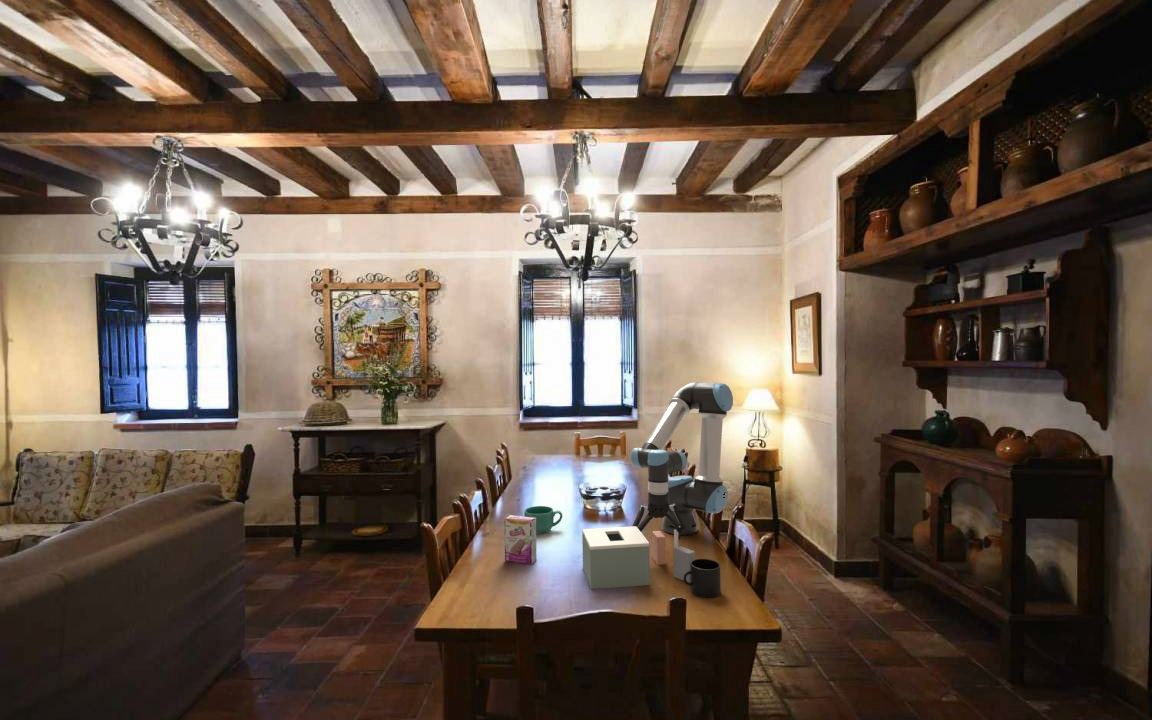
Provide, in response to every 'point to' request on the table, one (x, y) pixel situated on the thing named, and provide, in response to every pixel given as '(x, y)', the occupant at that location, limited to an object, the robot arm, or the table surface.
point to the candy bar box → (520, 539)
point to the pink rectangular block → (658, 547)
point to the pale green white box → (615, 557)
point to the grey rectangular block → (682, 562)
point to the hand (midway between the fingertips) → (658, 549)
